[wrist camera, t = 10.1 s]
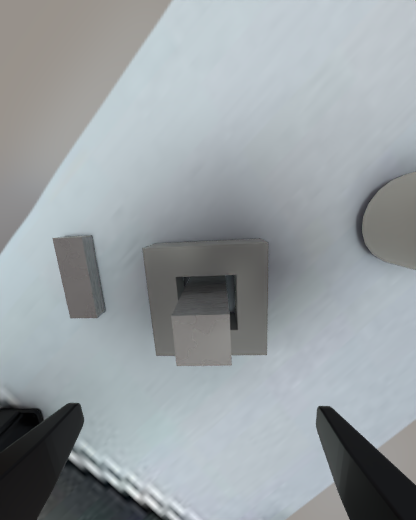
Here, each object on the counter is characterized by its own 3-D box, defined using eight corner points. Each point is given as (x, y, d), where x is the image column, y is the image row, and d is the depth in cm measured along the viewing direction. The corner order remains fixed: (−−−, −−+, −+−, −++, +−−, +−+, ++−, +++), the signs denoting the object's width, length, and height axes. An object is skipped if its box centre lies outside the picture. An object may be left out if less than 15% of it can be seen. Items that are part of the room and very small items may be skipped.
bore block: (259, 334, 20) (266, 354, 17) (165, 336, 21) (156, 355, 18) (260, 238, 18) (268, 242, 15) (154, 243, 19) (142, 248, 16)
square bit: (226, 306, 20) (231, 365, 12) (193, 307, 20) (176, 365, 12) (225, 273, 19) (229, 314, 11) (190, 275, 19) (171, 316, 11)
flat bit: (107, 309, 21) (97, 318, 19) (82, 309, 21) (70, 318, 19) (94, 235, 19) (81, 237, 17) (67, 236, 19) (52, 238, 18)
